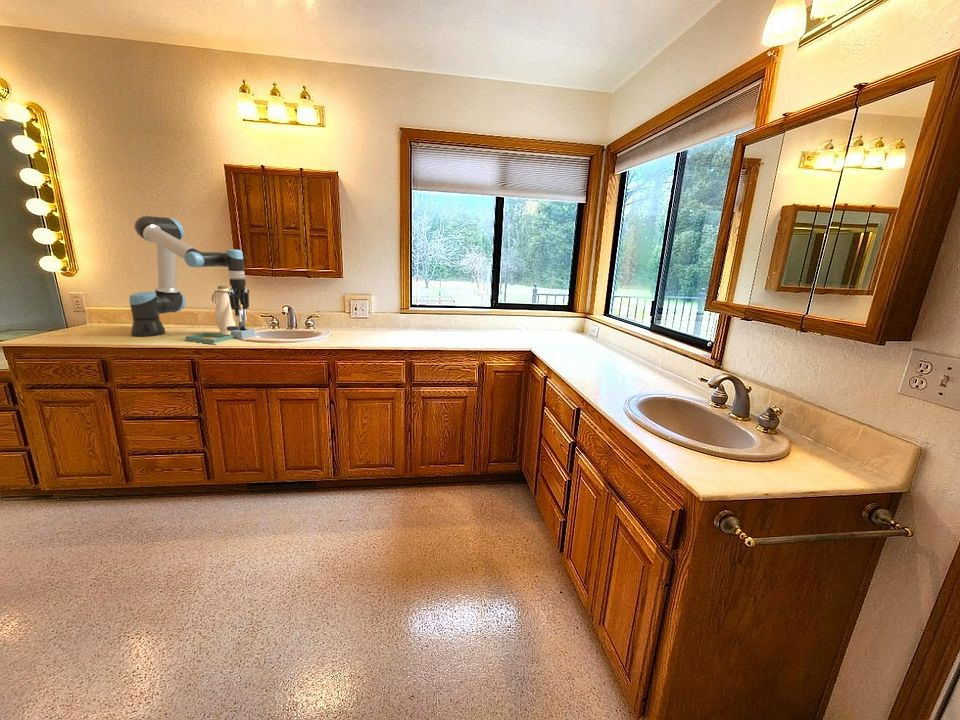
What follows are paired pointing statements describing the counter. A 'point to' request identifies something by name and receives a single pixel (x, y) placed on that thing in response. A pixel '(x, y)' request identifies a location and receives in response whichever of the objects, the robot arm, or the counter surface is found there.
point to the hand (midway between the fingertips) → (241, 320)
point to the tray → (207, 341)
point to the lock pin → (242, 324)
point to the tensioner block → (241, 332)
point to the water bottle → (223, 309)
